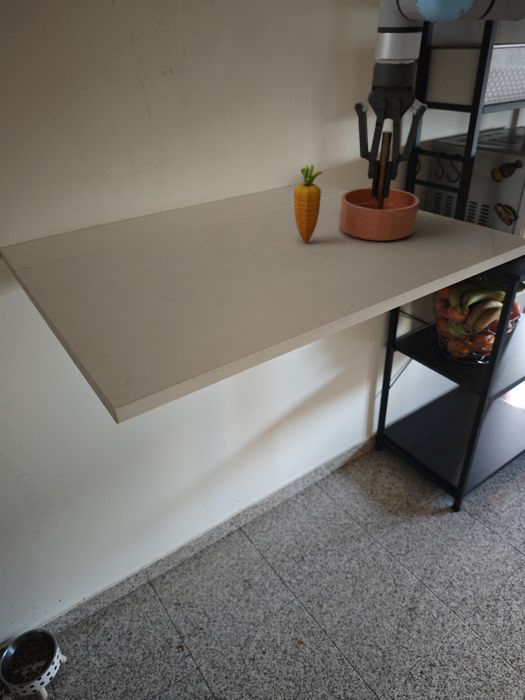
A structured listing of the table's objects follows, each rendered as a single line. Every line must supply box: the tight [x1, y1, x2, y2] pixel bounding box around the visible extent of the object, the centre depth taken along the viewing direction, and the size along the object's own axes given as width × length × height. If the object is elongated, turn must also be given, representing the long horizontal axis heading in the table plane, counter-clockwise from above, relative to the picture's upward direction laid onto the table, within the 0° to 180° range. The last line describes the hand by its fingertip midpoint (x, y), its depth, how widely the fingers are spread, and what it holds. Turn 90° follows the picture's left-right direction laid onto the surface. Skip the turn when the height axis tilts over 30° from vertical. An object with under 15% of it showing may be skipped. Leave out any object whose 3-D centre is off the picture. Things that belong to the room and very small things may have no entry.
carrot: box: [293, 164, 323, 244], centre depth 94 cm, size 5×5×15 cm
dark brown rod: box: [374, 130, 393, 209], centre depth 99 cm, size 6×6×18 cm
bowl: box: [338, 187, 420, 242], centre depth 103 cm, size 15×15×6 cm
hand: (380, 195), depth 101 cm, fingers closed on dark brown rod, 2 cm apart
